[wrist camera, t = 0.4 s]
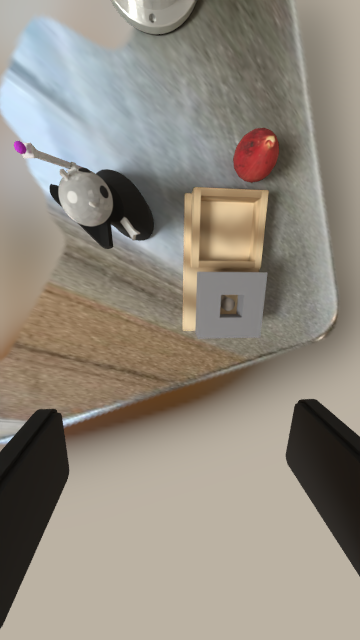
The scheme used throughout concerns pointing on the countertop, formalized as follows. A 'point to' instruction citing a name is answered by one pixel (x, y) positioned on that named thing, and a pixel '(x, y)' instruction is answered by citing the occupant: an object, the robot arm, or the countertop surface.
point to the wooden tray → (220, 240)
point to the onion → (256, 155)
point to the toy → (97, 199)
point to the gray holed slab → (248, 304)
